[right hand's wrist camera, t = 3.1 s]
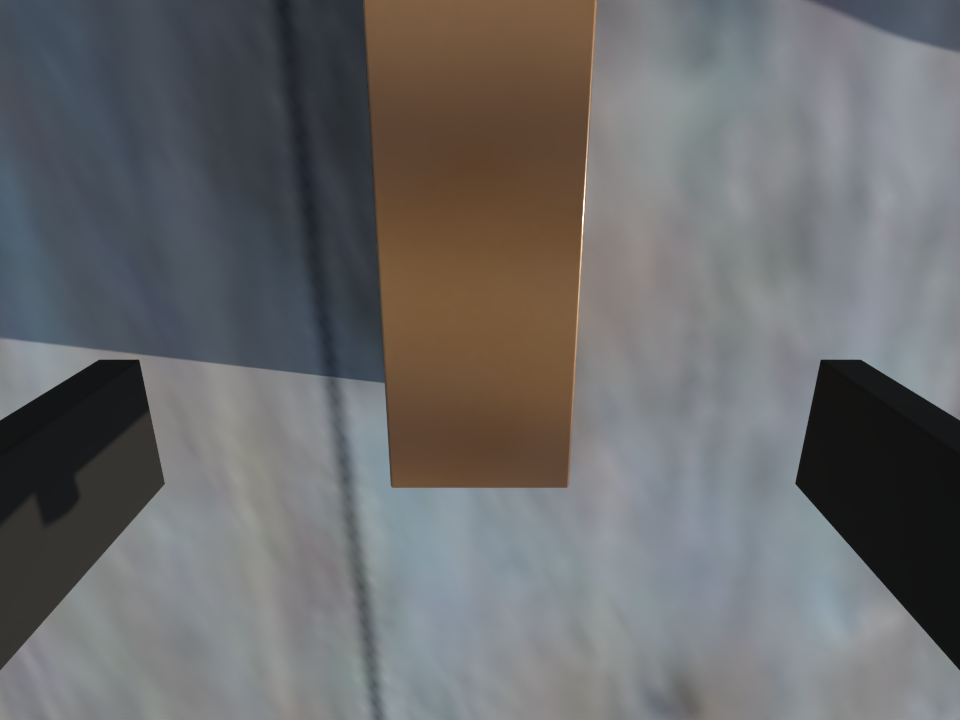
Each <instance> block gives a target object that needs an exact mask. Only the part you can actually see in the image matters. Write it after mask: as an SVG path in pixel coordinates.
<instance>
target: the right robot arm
mask: <svg viewBox="0 0 960 720" xmlns="http://www.w3.org/2000/svg"><path fill="white" fill-rule="evenodd" d="M164 484H165V483H164V478H163V473H162V468H161V463H160V459H159V454H158V449H157V444H156V439H155V434H154V430H153V425H152V420H151V415H150V410H149V405H148V401H147V396H146V391H145V386H144V381H143V376H142V371H141V367H140V362H139V360H98V361H96V362H95V363H93V364H92V365H90V366H88V367H87V368H85V369H83V370H82V371H80V372H79V373H77V374H75V375H74V376H72V377H70V378H69V379H67V380H65V381H64V382H62V383H61V384H59V385H57V386H56V387H54V388H52V389H51V390H49V391H48V392H46V393H44V394H43V395H41V396H39V397H38V398H36V399H35V400H33V401H31V402H30V403H28V404H26V405H25V406H23V407H21V408H20V409H18V410H17V411H15V412H13V413H12V414H10V415H8V416H7V417H5V418H4V419H2V420H0V670H1V669H2V668H3V667H4V665H5V664H6V663H7V662H8V661H9V660H10V659H11V657H12V656H13V655H14V654H15V653H16V652H17V651H18V650H19V648H20V647H21V646H22V645H23V644H24V643H25V642H26V640H27V639H28V638H29V637H30V636H31V635H32V634H33V633H34V631H35V630H36V629H37V628H38V627H39V626H40V625H41V623H42V622H43V621H44V620H45V619H46V618H47V617H48V616H49V614H50V613H51V612H52V611H53V610H54V609H55V608H56V606H57V605H58V604H59V603H60V602H61V601H62V600H63V599H64V597H65V596H66V595H67V594H68V593H69V592H70V591H71V589H72V588H73V587H74V586H75V585H76V584H77V583H78V582H79V580H80V579H81V578H82V577H83V576H84V575H85V574H86V572H87V571H88V570H89V569H90V568H91V567H92V566H93V564H94V563H95V562H96V561H97V560H98V559H99V558H100V557H101V555H102V554H103V553H104V552H105V551H106V550H107V549H108V547H109V546H110V545H111V544H112V543H113V542H114V541H115V540H116V538H117V537H118V536H119V535H120V534H121V533H122V532H123V530H124V529H125V528H126V527H127V526H128V525H129V524H130V523H131V521H132V520H133V519H134V518H135V517H136V516H137V515H138V513H139V512H140V511H141V510H142V509H143V508H144V507H145V506H146V504H147V503H148V502H149V501H150V500H151V499H152V498H153V496H154V495H155V494H156V493H157V492H158V491H159V490H160V489H161V487H162V486H163V485H164ZM795 484H796V485H797V486H798V487H799V489H800V490H801V491H802V492H803V493H804V494H805V495H806V496H807V498H808V499H809V500H810V501H811V502H812V503H813V504H814V506H815V507H816V508H817V509H818V510H819V511H820V512H821V513H822V515H823V516H824V517H825V518H826V519H827V520H828V521H829V523H830V524H831V525H832V526H833V527H834V528H835V529H836V530H837V532H838V533H839V534H840V535H841V536H842V537H843V538H844V540H845V541H846V542H847V543H848V544H849V545H850V546H851V547H852V549H853V550H854V551H855V552H856V553H857V554H858V555H859V557H860V558H861V559H862V560H863V561H864V562H865V563H866V564H867V566H868V567H869V568H870V569H871V570H872V571H873V572H874V574H875V575H876V576H877V577H878V578H879V579H880V580H881V582H882V583H883V584H884V585H885V586H886V587H887V588H888V589H889V591H890V592H891V593H892V594H893V595H894V596H895V597H896V599H897V600H898V601H899V602H900V603H901V604H902V605H903V606H904V608H905V609H906V610H907V611H908V612H909V613H910V614H911V616H912V617H913V618H914V619H915V620H916V621H917V622H918V623H919V625H920V626H921V627H922V628H923V629H924V630H925V631H926V633H927V634H928V635H929V636H930V637H931V638H932V639H933V640H934V642H935V643H936V644H937V645H938V646H939V647H940V648H941V650H942V651H943V652H944V653H945V654H946V655H947V656H948V657H949V659H950V660H951V661H952V662H953V663H954V664H955V665H956V667H957V668H958V669H959V670H960V420H958V419H956V418H955V417H953V416H952V415H950V414H948V413H947V412H945V411H943V410H942V409H940V408H939V407H937V406H935V405H934V404H932V403H930V402H929V401H927V400H925V399H924V398H922V397H921V396H919V395H917V394H916V393H914V392H912V391H911V390H909V389H908V388H906V387H904V386H903V385H901V384H899V383H898V382H896V381H894V380H893V379H891V378H890V377H888V376H886V375H885V374H883V373H881V372H880V371H878V370H877V369H875V368H873V367H872V366H870V365H868V364H867V363H865V362H864V361H862V360H821V362H820V367H819V371H818V376H817V381H816V386H815V391H814V396H813V401H812V405H811V410H810V415H809V420H808V425H807V430H806V434H805V439H804V444H803V449H802V454H801V459H800V463H799V468H798V473H797V478H796V483H795Z"/></svg>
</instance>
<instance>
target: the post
mask: <svg viewBox="0 0 960 720" xmlns="http://www.w3.org/2000/svg"><path fill="white" fill-rule="evenodd" d="M362 1H363V18H364V35H365V52H366V69H367V86H368V103H369V120H370V137H371V154H372V171H373V188H374V205H375V222H376V239H377V256H378V273H379V290H380V308H381V325H382V342H383V359H384V376H385V393H386V410H387V427H388V444H389V461H390V478H391V486H392V487H393V488H567V487H568V486H569V472H570V455H571V438H572V420H573V403H574V386H575V369H576V351H577V334H578V317H579V300H580V282H581V265H582V248H583V231H584V213H585V196H586V179H587V162H588V144H589V127H590V110H591V93H592V75H593V58H594V41H595V24H596V6H597V0H362Z"/></svg>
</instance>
